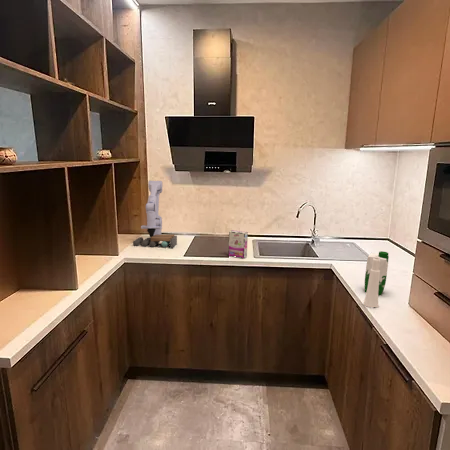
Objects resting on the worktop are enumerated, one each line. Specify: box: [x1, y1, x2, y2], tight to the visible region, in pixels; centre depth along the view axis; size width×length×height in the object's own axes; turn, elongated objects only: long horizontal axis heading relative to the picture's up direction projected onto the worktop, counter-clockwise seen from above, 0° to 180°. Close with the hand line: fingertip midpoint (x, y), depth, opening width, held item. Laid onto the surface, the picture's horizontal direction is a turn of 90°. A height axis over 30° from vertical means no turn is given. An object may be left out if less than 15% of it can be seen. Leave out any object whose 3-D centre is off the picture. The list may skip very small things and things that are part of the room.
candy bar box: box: [228, 229, 249, 259], centre depth 209 cm, size 11×5×16 cm, turn 62°
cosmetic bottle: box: [363, 256, 380, 309], centre depth 142 cm, size 6×6×22 cm
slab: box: [151, 234, 175, 242], centre depth 230 cm, size 10×14×2 cm
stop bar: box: [169, 235, 178, 249], centre depth 230 cm, size 11×2×6 cm, turn 173°
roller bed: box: [132, 236, 170, 249], centre depth 232 cm, size 10×24×4 cm, turn 83°
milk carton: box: [364, 250, 389, 296], centre depth 157 cm, size 9×9×20 cm
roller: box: [160, 241, 170, 248], centre depth 231 cm, size 10×4×4 cm
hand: (151, 239), depth 232 cm, fingers closed
